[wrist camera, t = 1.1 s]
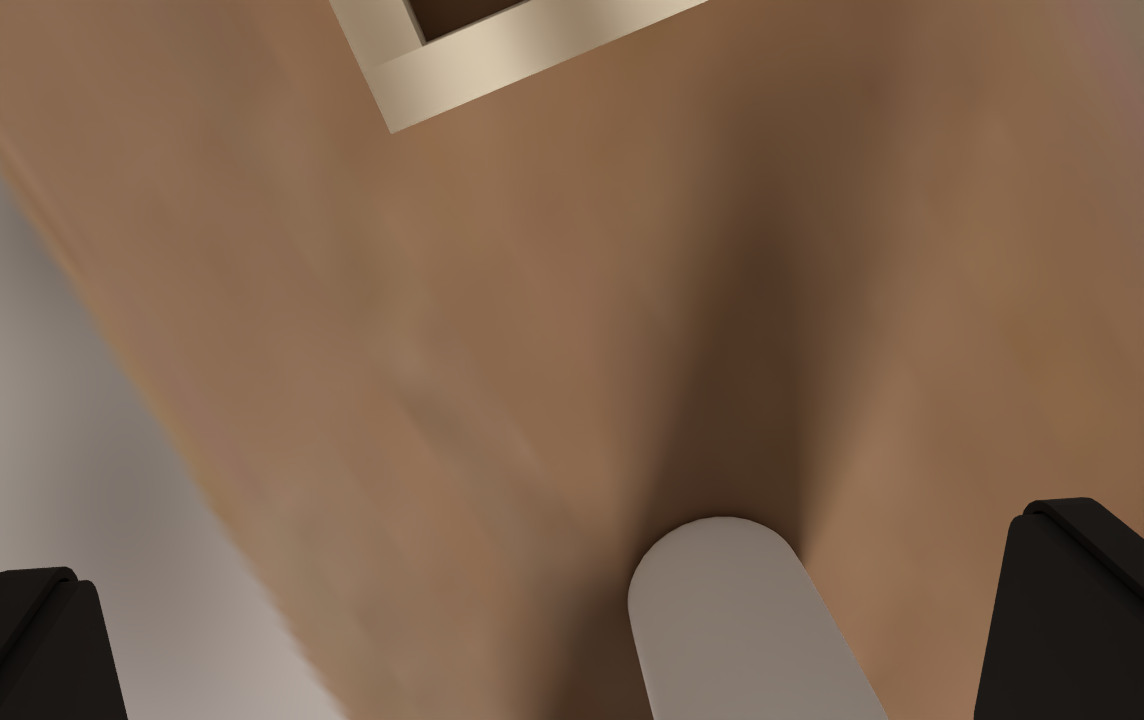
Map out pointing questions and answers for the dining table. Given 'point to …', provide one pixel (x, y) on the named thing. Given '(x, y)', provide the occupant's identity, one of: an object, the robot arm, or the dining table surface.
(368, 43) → the holder
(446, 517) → the dining table surface
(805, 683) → the milk bottle
